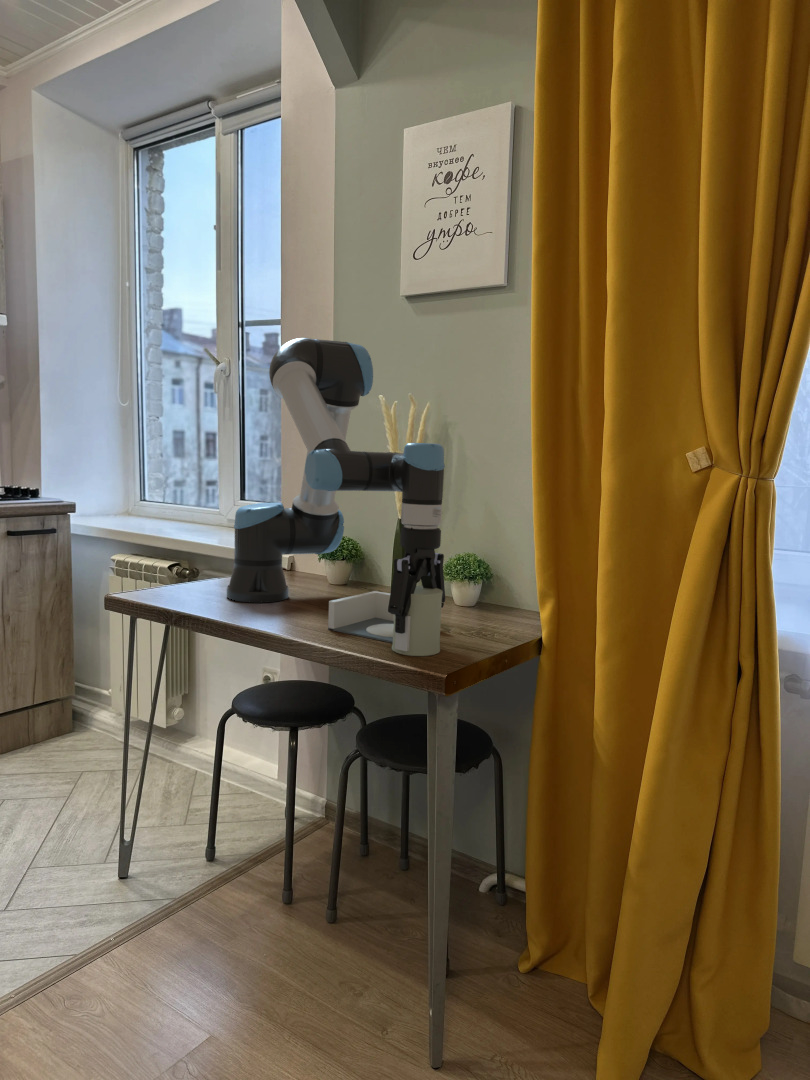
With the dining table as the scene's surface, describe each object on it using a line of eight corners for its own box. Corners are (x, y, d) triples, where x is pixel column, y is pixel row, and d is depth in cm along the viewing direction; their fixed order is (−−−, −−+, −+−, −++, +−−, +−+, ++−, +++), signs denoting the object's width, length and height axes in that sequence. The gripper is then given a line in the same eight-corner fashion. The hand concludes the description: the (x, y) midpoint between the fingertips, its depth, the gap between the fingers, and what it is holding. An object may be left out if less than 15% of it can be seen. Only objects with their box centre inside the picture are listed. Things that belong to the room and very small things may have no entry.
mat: (328, 629, 154) (328, 626, 154) (373, 617, 167) (374, 614, 167) (395, 643, 144) (395, 640, 144) (438, 629, 158) (438, 626, 157)
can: (399, 641, 146) (402, 581, 145) (445, 646, 144) (448, 585, 142) (385, 652, 137) (387, 589, 136) (433, 658, 135) (436, 593, 133)
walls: (328, 629, 154) (328, 601, 153) (373, 617, 167) (374, 591, 166) (395, 643, 144) (396, 613, 144) (438, 629, 158) (439, 601, 157)
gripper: (405, 532, 127) (400, 660, 129) (467, 524, 145) (461, 637, 147) (370, 528, 131) (366, 652, 134) (434, 521, 149) (429, 631, 151)
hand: (416, 644), depth 140 cm, fingers closed on can, 9 cm apart
